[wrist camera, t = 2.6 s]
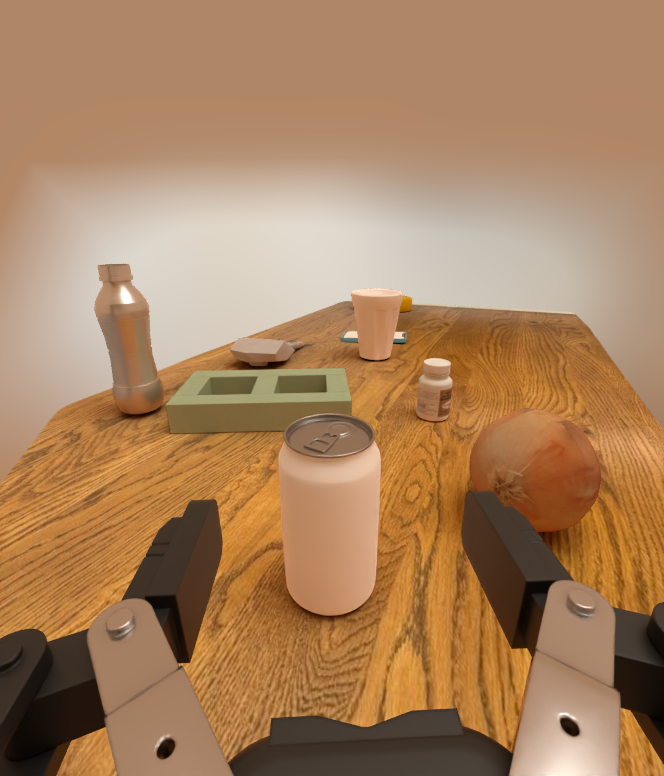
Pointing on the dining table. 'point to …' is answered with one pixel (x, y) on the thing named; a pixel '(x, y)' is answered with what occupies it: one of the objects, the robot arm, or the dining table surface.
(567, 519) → the onion
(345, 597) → the can
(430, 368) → the pill bottle
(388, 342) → the cup
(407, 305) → the element tile
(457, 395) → the dining table surface
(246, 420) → the holder
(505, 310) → the dining table surface
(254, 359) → the turret
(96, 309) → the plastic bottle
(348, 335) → the smartphone
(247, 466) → the dining table surface
